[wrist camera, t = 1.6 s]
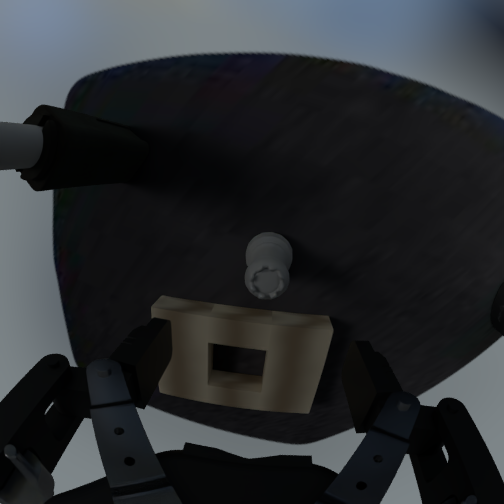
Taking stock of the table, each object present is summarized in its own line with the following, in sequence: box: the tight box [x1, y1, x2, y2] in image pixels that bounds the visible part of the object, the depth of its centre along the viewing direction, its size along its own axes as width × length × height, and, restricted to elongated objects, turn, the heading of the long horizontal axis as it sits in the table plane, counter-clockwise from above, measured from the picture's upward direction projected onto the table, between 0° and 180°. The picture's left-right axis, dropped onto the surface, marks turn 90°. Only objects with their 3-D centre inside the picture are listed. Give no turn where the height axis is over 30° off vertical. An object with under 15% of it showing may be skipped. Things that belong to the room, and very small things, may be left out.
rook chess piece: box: [245, 232, 292, 300], centre depth 23 cm, size 4×4×8 cm
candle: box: [0, 105, 149, 191], centre depth 14 cm, size 5×5×25 cm
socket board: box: [151, 296, 333, 413], centre depth 29 cm, size 18×12×3 cm, turn 85°
